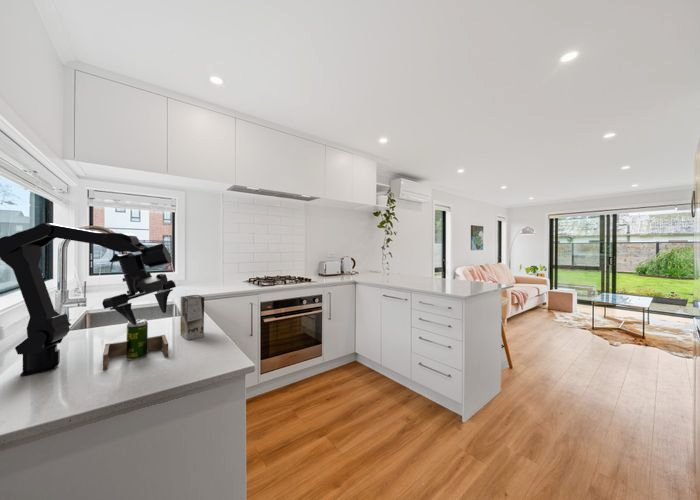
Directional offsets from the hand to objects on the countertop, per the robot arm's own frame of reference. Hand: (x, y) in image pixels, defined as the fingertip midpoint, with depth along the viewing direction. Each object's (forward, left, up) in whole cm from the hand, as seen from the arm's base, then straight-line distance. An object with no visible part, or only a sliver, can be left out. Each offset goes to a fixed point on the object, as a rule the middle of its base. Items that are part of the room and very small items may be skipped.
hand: (150, 318), depth 87 cm
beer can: (-3, +4, -13) cm, 15 cm away
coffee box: (+15, +18, -14) cm, 27 cm away
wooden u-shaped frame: (-3, +5, -13) cm, 14 cm away
